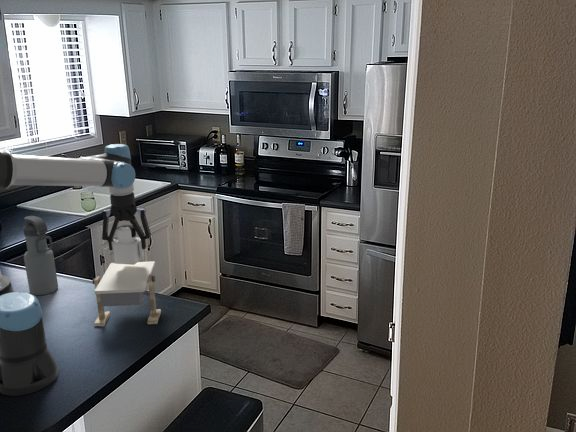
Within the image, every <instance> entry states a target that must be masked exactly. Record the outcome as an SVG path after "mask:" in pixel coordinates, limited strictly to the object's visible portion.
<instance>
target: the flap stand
mask: <svg viewBox="0 0 576 432" xmlns="http://www.w3.org/2000/svg"><path fill="white" fill-rule="evenodd" d="M91 281H92V285H94V288H95V289H96V288H97V286H98V284H99V282H100V281H101V276H99V275H98V276H95V278H92V279H91ZM155 282H156V275H154V274H153V273H151V274H150V275H149V277H148V289H149V301H150V310H151V311H150V312H149V313H150V314H149V315H148V318H147V325H158V323H159V319H160V316H161V315H162V310H161V308H158V309H157V302H156V294H155V285H154V284H155ZM95 289H94V290H95ZM95 295H96V296H95V297H96V302H97V303H96V305H97V311H98V316H97V317H96V319H95V321H94V324H93V325H94V327H95V326H100V327H105V326H106V324H107V321H108V320H109V318H110V316H111V311H109V310H107V311H105V306H102V305H101V298H100V294H95Z"/></svg>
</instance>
